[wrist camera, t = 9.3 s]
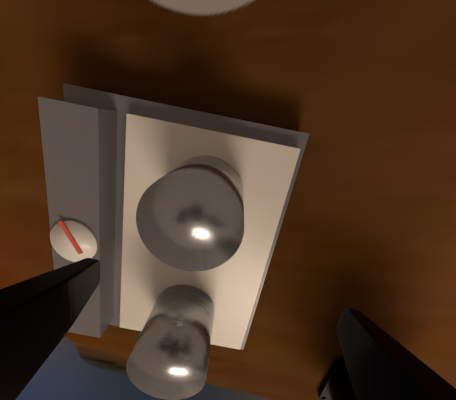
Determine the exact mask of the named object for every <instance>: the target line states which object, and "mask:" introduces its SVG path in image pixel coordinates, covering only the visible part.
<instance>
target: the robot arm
mask: <svg viewBox="0 0 456 400" xmlns="http://www.w3.org/2000/svg"><path fill="white" fill-rule="evenodd" d="M99 282H100V261H99V260H97V259H92V258H85V259H82V260H80V261H77V262H74V263H71V264H69V265H66V266H63V267H61V268H58V269H55V270H52V271H50V272H47V273H44V274H41V275H39V276H36V277H33V278H31V279H28V280H25V281H22V282H20V283H17V284H14V285H11V286H9V287H6V288H3V289H0V400H15V399H16V398H17V397H18V395H19V394H20V393H21V391H22V390H23V389H24V388H25V386H26V385H27V384H28V383H29V381H30V380H31V379H32V377H33V376H34V374H36V372H37V371H38V369H39V368H40V367H41V366H42V364H43V363H44V362H45V361H46V359H47V358H48V357H49V355H50V354H51V353H52V352H53V350H54V349H55V348H56V346H57V345H58V344H59V342H60V341H61V340H62V339H63V337H64V336H65V335H66V333H67V332H68V331H69V329H70V328H71V327H72V325H73V324H74V322H75V321H76V319H77V318H78V316H79V315H80V313H81V311H82V310H83V308H84V307H85V305H86V304H87V302H88V300H89V299H90V297H91V296H92V294H93V293H94V291H95V290H96V288H97V286H98V285H99ZM337 333H338V337H339V341H340V344H341V348H342V352H343V356H344V359H345V360H340V359H339V360H336V361H335V362H334V364H333V366H332V368H331V370H330V372H329V374H328V375H327V377H326V379H325V381H324V383H323V385H322V387H321V389H320V391H319V393H318V396H319V399H320V400H456V389H455V388H454V387H453V386H452V385H450V384H449V383H448V382H447V381H445V380H444V379H443V378H442V377H440V376H439V375H438V374H437V373H435V372H434V371H433V370H432V369H430V368H429V367H428V366H427V365H426V364H424V363H423V362H422V361H421V360H419V359H418V358H417V357H416V356H414V355H413V354H412V353H411V352H409V351H408V350H407V349H406V348H405V347H403V346H402V345H401V344H400V343H398V342H397V341H396V340H395V339H393V338H392V337H391V336H390V335H388V334H387V333H386V332H385V331H384V330H382V329H381V328H380V327H379V326H377V325H376V324H375V323H374V322H372V321H371V320H370V319H369V318H367V317H366V316H365V315H364V314H363V313H361V312H360V311H358V310H356V309H351V308H346V309H345V310H344V311H343V313H342V315H341V317H340V320H339V322H338V324H337Z"/></svg>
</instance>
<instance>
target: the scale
mask: <svg viewBox="0 0 456 400" xmlns="http://www.w3.org/2000/svg"><path fill="white" fill-rule="evenodd" d="M63 95H64V100H59V99H52V98H46V97H39V96H38V105H39V115H40V126H41V136H42V147H43V158H44V168H45V179H46V189H47V200H48V210H49V221H50V241H51V244H52V253H53V263H54V270H55V269H58V268H61V267H63V266H66V265H69V264H71V263H74V262H77V261H80V260H82V259H85V258H92V259H97V260H99V261H100V282H99V285H98V286H97V288H96V290H95V291H94V293H93V294H92V296H91V297H90V299H89V300H88V302H87V304H86V305H85V307H84V308H83V310H82V311H81V313H80V315H79V316H78V318H77V319H76V321H75V322H74V324H73V325H72V327H71V328H70V329H69V331H68V332H72V333H77V334H82V335H88V336H93V337H99V338H100V337H101V336H102V334H103V333H104V331H105V330H106V328H107V327H108V325H114V326H119V327H121V328H127V329H132V330H137V331H142V329H143V327H144V325H145V323H146V321H147V319H148V317H149V315H150V312H151V310H152V308H153V306H154V304H155V302H156V300H157V298H158V296H159V294H160V293H161V292H162V291H163V290H165V289H166V288H168V287H171V286H174V285H190V286H194V287H196V288H199V289H201V290H202V291H204V292H205V293H206V294H207V295H208V296H209V297H210V298H211V300H212V301H213V304H214V308H215V313H214V321H213V329H212V337H211V344H213V345H218V346H224V347H229V348H234V349H244V346H245V342H246V339H247V336H248V333H249V329H250V326H251V323H252V320H253V316H254V313H255V310H256V307H257V303H258V300H259V297H260V293H261V290H262V287H263V284H264V280H265V277H266V274H267V271H268V267H269V264H270V261H271V258H272V254H273V251H274V248H275V245H276V241H277V238H278V235H279V232H280V228H281V225H282V222H283V218H284V215H285V212H286V209H287V205H288V202H289V199H290V196H291V192H292V189H293V186H294V183H295V179H296V176H297V173H298V170H299V166H300V163H301V160H302V156H303V153H304V150H305V147H306V143H307V140H308V137H309V134H308V133H303V132H298V131H293V130H288V129H283V128H278V127H274V126H269V125H264V124H259V123H254V122H249V121H244V120H240V119H235V118H230V117H225V116H220V115H215V114H210V113H206V112H201V111H196V110H191V109H186V108H181V107H176V106H172V105H167V104H162V103H157V102H152V101H147V100H142V99H137V98H133V97H128V96H123V95H118V94H113V93H108V92H103V91H99V90H94V89H89V88H84V87H79V86H74V85H69V84H65V83H63ZM202 155H207V156H214V157H217V158H220V159H222V160H224V161H226V162H227V163H228V164H230V165H231V166H232V167H233V168H234V169H235V171H236V172H237V173H238V175H239V177H240V179H241V182H242V186H243V201H244V235H243V239H242V242H241V244H240V246H239V248H238V250H237V251H236V253H235V254H234V255H233V256H232V257H231V258H230V259H229V260H228V261H227V262H225V263H224V264H222V265H220V266H218V267H216V268H213V269H210V270H205V271H184V270H180V269H177V268H174V267H171V266H169V265H167V264H165V263H163V262H162V261H160V260H159V259H157V258H156V257H155V256H154V255H153V254H152V253H151V252H150V251H149V250H148V249H147V248H146V246H145V245H144V243H143V242H142V240H141V238H140V236H139V233H138V230H137V225H136V210H137V206H138V203H139V201H140V198H141V197H142V195H143V193H144V192H145V191H146V190H147V188H148V187H149V186H151V185H152V184H153V183H154V182H156V181H157V180H158V179H160V178H161V177H163V176H164V175H166V174H167V173H169V172H170V171H171V170H173V169H174V168H176V167H177V166H179V165H180V164H181V163H183V162H184V161H186V160H188V159H190V158H192V157H196V156H202Z"/></svg>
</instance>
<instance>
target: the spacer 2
mask: <svg viewBox="0 0 456 400" xmlns="http://www.w3.org/2000/svg"><path fill="white" fill-rule="evenodd" d="M214 313H215V308H214V304H213V301H212V300H211V298H210V297H209V296H208V295H207V294H206V293H205V292H204V291H202V290H201V289H199V288H196V287H194V286H190V285H174V286H171V287H168V288H166V289H165V290H163V291H162V292H161V293H160V294H159V296H158V298H157V300H156V302H155V304H154V306H153V308H152V310H151V312H150V315H149V317H148V319H147V321H146V323H145V325H144V327H143V329H142V331H141V334H140V336H139V338H138V340H137V342H136V344H135V346H134V348H133V350H132V352H131V355H130V357H129V359H128V361H127V365H126V371H127V374H128V377H129V379H130V380H131V382H132V383H133V384H134V385H135V386H136V387H137V388H138V389H140V390H141V391H143V392H144V393H147V394H148V395H151V396H153V397H156V398H161V399H167V400H179V399H185V398H188V397H191V396H193V395H195V394H197V393H198V392H199V391H200V390H201V389H202V388H203V386H204V384H205V382H206V376H207V368H208V360H209V352H210V344H211V337H212V329H213V321H214Z"/></svg>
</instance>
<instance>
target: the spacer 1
mask: <svg viewBox="0 0 456 400" xmlns="http://www.w3.org/2000/svg"><path fill="white" fill-rule="evenodd" d="M136 225H137V230H138V233H139V236H140V238H141V240H142V242H143V243H144V245H145V246H146V248H147V249H148V250H149V251H150V252H151V253H152V254H153V255H154V256H155V257H156V258H157V259H159V260H160V261H162V262H163V263H165V264H167V265H169V266H171V267H174V268H177V269H180V270H184V271H205V270H210V269H213V268H216V267H218V266H220V265H222V264H224V263H225V262H227V261H228V260H229V259H230V258H231V257H232V256H233V255H234V254H235V253H236V251H237V250H238V248H239V246H240V244H241V242H242V239H243V235H244V201H243V186H242V182H241V179H240V177H239V175H238V173H237V172H236V171H235V169H234V168H233V167H232V166H231V165H230V164H228V163H227V162H226V161H224V160H222V159H220V158H217V157H214V156H207V155H202V156H196V157H192V158H190V159H188V160H186V161H184V162H183V163H181V164H180V165H179V166H177V167H176V168H174V169H173V170H171V171H170V172H169V173H167V174H166V175H164V176H163V177H161V178H160V179H158V180H157V181H156V182H154V183H153V184H152V185H151V186H149V187H148V188H147V190H146V191H145V192H144V193H143V195H142V197H141V198H140V201H139V203H138V206H137V210H136Z"/></svg>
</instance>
